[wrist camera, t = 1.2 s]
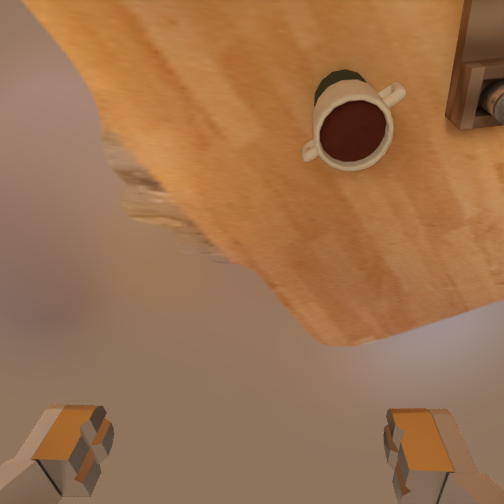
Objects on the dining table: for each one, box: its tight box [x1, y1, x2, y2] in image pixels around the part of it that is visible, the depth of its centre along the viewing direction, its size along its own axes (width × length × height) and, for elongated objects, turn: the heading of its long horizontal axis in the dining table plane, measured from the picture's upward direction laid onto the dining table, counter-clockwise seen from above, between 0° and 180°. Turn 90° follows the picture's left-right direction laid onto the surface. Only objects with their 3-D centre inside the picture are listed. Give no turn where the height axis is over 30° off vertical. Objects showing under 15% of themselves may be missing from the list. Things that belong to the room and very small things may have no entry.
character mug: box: [302, 69, 406, 171], centre depth 37 cm, size 11×7×13 cm, turn 129°
